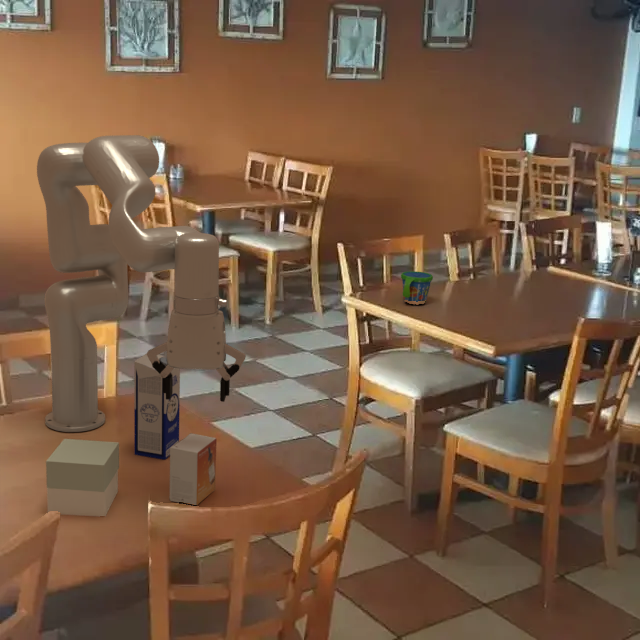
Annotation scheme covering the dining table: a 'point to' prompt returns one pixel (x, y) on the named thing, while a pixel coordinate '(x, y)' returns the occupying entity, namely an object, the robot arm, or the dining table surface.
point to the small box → (192, 469)
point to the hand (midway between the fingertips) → (196, 398)
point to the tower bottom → (82, 500)
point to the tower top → (82, 465)
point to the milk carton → (154, 410)
